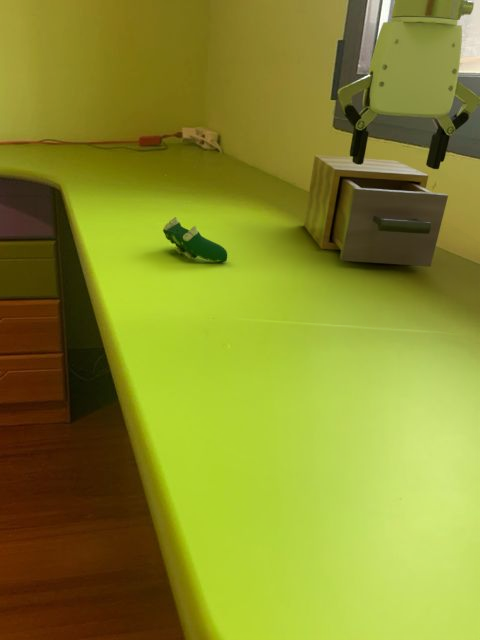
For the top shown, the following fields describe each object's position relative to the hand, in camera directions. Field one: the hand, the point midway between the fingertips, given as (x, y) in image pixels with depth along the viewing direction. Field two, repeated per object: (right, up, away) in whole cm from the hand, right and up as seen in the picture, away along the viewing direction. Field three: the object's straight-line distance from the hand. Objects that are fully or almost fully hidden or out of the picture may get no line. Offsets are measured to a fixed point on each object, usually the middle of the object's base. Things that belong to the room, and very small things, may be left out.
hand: (394, 165), depth 88 cm
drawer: (-1, -10, +5) cm, 11 cm away
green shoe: (-26, -11, +2) cm, 28 cm away
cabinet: (-1, -5, +17) cm, 17 cm away
